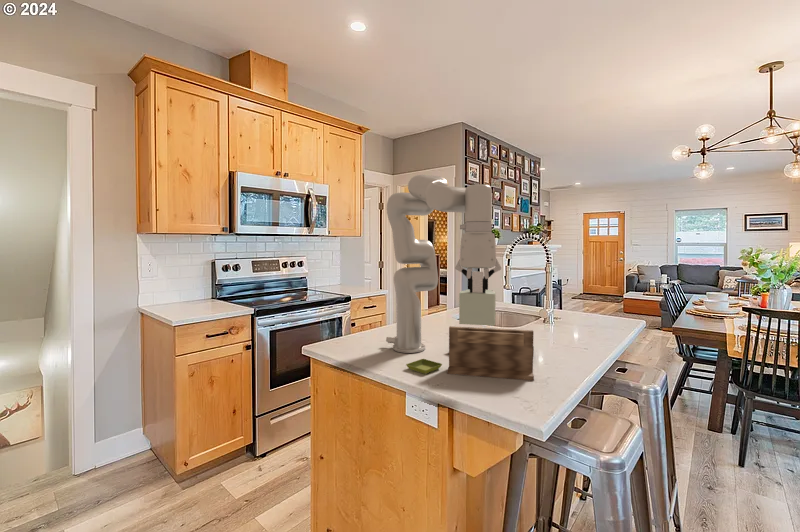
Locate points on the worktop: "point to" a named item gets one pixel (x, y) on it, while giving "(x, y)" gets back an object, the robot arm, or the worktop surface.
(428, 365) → the olive green square tray
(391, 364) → the worktop surface
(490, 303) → the pale green stepped block
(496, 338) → the wall board
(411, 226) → the robot arm
